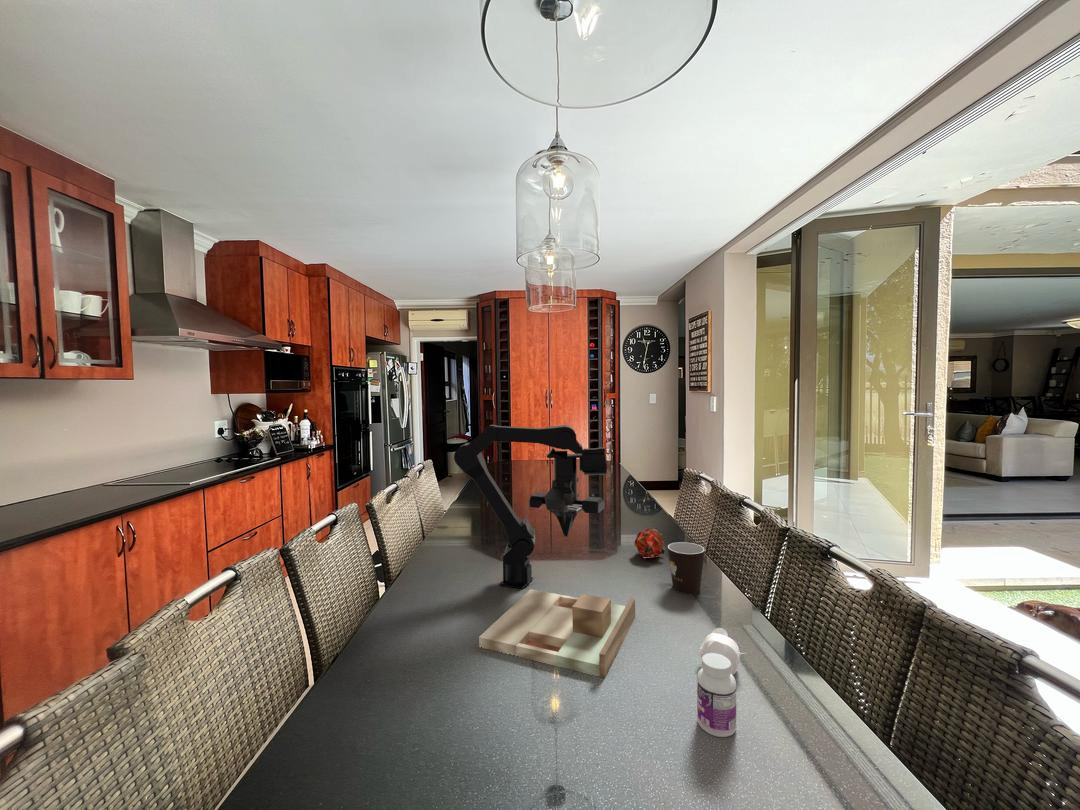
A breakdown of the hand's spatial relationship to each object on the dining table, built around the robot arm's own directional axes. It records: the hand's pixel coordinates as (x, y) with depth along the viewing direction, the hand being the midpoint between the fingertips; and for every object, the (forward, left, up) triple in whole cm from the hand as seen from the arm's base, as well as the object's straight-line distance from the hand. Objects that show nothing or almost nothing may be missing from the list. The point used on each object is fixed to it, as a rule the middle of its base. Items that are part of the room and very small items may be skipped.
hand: (566, 536), depth 118 cm
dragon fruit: (+16, +26, -12) cm, 33 cm away
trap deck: (+7, -23, -12) cm, 27 cm away
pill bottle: (+38, -39, -12) cm, 56 cm away
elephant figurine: (+38, -24, -12) cm, 46 cm away
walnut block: (+14, -23, -10) cm, 28 cm away
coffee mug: (+28, +9, -12) cm, 32 cm away
